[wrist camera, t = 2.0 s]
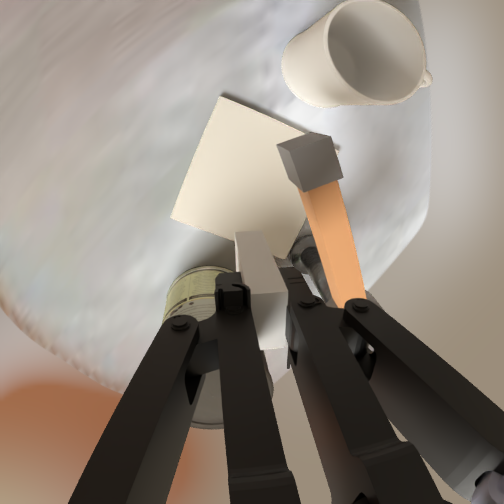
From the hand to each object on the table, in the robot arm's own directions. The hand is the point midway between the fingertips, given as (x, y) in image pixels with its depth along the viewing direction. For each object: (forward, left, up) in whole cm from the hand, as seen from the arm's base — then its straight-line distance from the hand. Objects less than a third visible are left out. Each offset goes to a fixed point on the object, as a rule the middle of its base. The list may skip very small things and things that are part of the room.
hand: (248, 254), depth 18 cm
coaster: (-2, +2, -15) cm, 15 cm away
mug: (-16, +5, -16) cm, 23 cm away
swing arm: (-1, +6, -4) cm, 7 cm away
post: (+3, +11, -15) cm, 19 cm away
